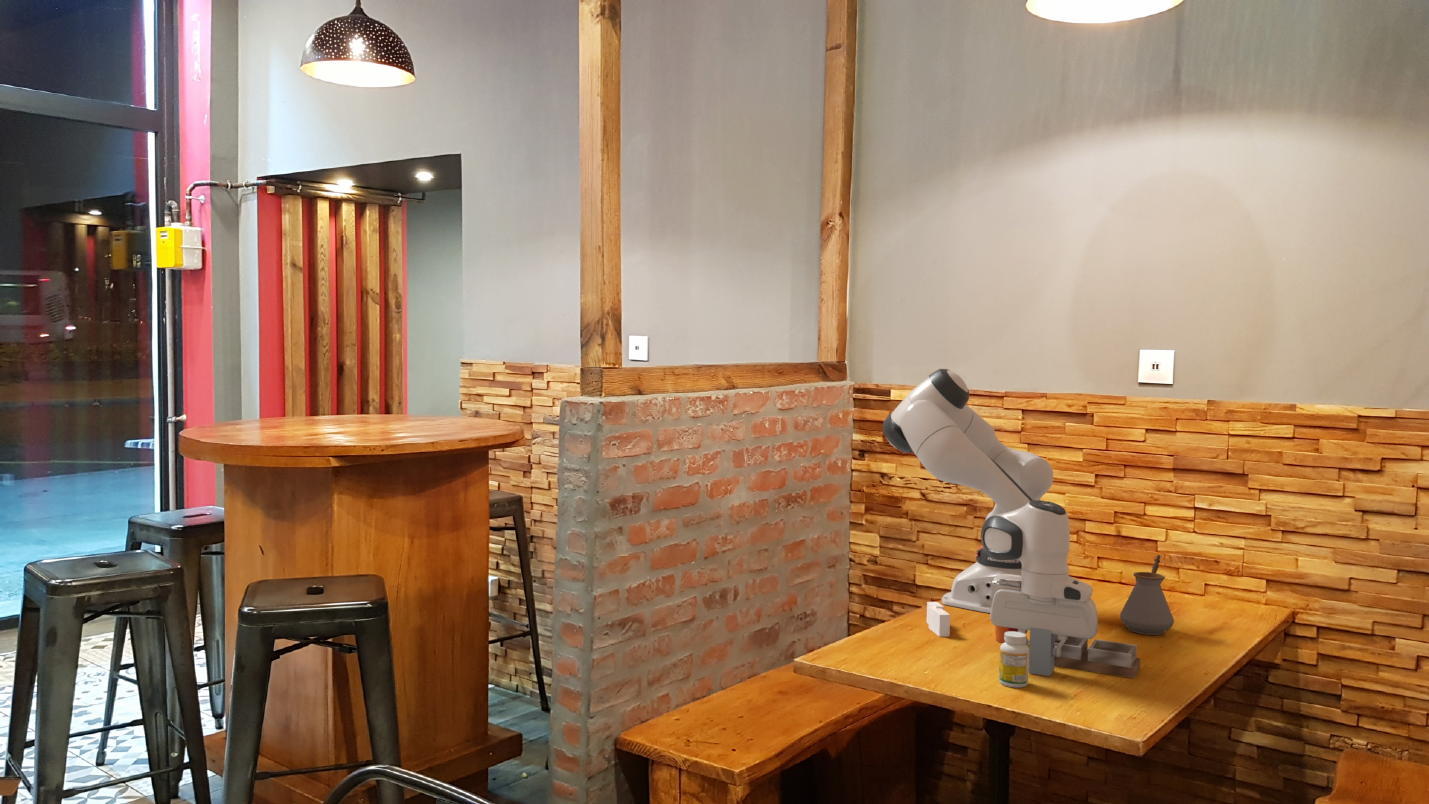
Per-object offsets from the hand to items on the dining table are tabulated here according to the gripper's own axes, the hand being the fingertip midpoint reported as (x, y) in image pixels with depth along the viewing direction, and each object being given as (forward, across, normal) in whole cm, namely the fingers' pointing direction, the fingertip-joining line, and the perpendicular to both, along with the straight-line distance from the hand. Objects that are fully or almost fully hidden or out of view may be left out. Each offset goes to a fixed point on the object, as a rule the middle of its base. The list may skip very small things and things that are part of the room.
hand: (1041, 653), depth 207 cm
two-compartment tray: (+4, +7, +10) cm, 13 cm away
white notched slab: (+4, -27, +20) cm, 34 cm away
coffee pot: (+4, +14, +50) cm, 52 cm away
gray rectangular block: (+4, 0, 0) cm, 4 cm away
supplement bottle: (+4, -3, -10) cm, 11 cm away
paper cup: (+4, -11, +19) cm, 22 cm away
